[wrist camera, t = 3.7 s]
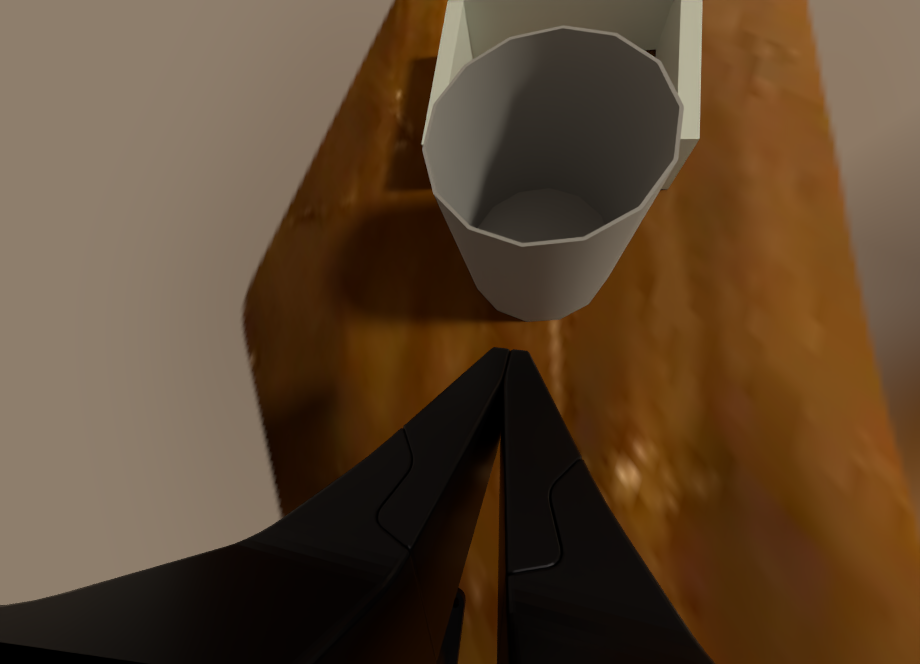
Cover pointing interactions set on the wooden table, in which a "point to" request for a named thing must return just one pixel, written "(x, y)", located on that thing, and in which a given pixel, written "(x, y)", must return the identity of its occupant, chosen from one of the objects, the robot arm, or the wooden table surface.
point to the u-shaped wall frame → (592, 7)
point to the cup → (551, 163)
